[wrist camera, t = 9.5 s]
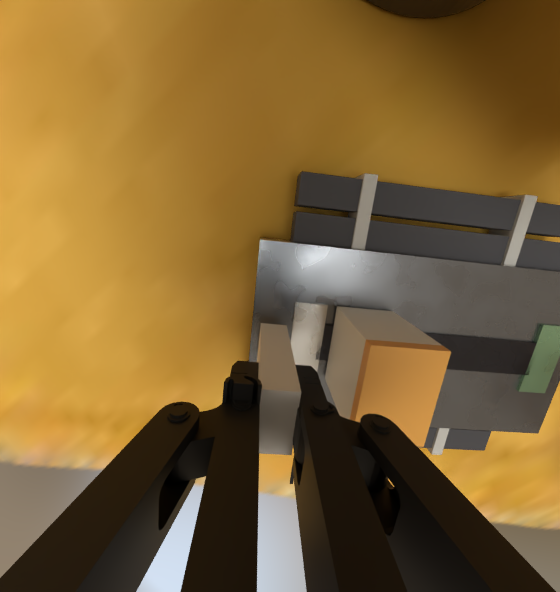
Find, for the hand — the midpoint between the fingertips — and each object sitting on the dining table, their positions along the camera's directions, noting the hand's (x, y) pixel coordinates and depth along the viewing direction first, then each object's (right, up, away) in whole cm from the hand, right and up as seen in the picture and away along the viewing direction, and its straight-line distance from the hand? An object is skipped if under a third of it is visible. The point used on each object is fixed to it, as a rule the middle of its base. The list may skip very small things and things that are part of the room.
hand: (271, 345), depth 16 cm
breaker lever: (+6, 0, +2) cm, 6 cm away
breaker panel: (+10, 0, +5) cm, 11 cm away
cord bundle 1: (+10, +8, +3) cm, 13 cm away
